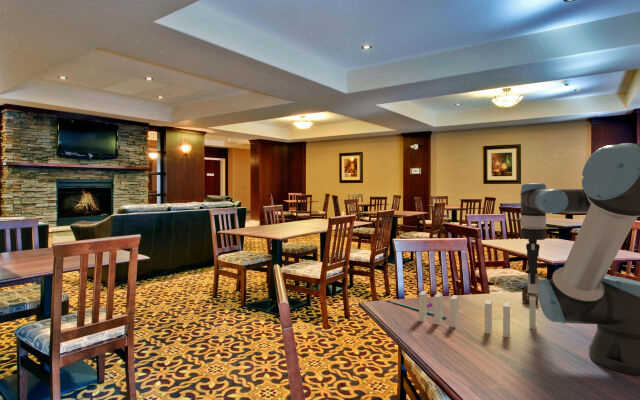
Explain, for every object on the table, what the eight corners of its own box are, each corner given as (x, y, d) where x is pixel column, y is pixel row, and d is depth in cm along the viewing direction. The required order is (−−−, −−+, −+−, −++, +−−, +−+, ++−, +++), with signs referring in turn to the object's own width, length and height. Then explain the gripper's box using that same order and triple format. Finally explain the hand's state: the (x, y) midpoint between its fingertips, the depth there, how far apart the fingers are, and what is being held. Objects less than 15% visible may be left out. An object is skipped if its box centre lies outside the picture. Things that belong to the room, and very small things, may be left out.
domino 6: (535, 325, 125) (535, 297, 124) (535, 329, 120) (535, 300, 120) (529, 324, 126) (529, 296, 125) (529, 328, 121) (529, 300, 121)
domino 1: (427, 317, 132) (427, 291, 132) (423, 322, 128) (423, 294, 128) (422, 316, 133) (422, 290, 133) (418, 321, 129) (418, 294, 129)
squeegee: (459, 310, 137) (444, 316, 131) (459, 314, 137) (444, 320, 131) (400, 295, 159) (385, 299, 153) (400, 299, 159) (385, 303, 153)
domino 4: (491, 329, 121) (492, 300, 121) (490, 334, 117) (490, 304, 117) (486, 328, 122) (486, 299, 122) (484, 333, 118) (484, 303, 118)
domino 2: (442, 320, 130) (442, 293, 129) (439, 324, 125) (439, 296, 125) (437, 319, 131) (437, 292, 130) (434, 323, 126) (434, 296, 126)
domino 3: (458, 323, 127) (458, 295, 127) (455, 327, 122) (455, 299, 122) (452, 322, 128) (452, 294, 128) (450, 326, 123) (450, 298, 123)
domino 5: (509, 332, 118) (510, 302, 118) (509, 337, 114) (509, 306, 114) (503, 331, 119) (504, 301, 119) (503, 336, 115) (503, 306, 115)
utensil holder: (519, 300, 153) (519, 273, 152) (533, 300, 152) (533, 273, 152) (527, 305, 147) (527, 276, 146) (542, 305, 147) (542, 276, 146)
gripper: (521, 224, 135) (520, 278, 136) (519, 230, 114) (519, 295, 114) (544, 224, 131) (543, 281, 132) (547, 232, 110) (546, 299, 110)
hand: (532, 288), depth 123 cm, fingers open, 13 cm apart
